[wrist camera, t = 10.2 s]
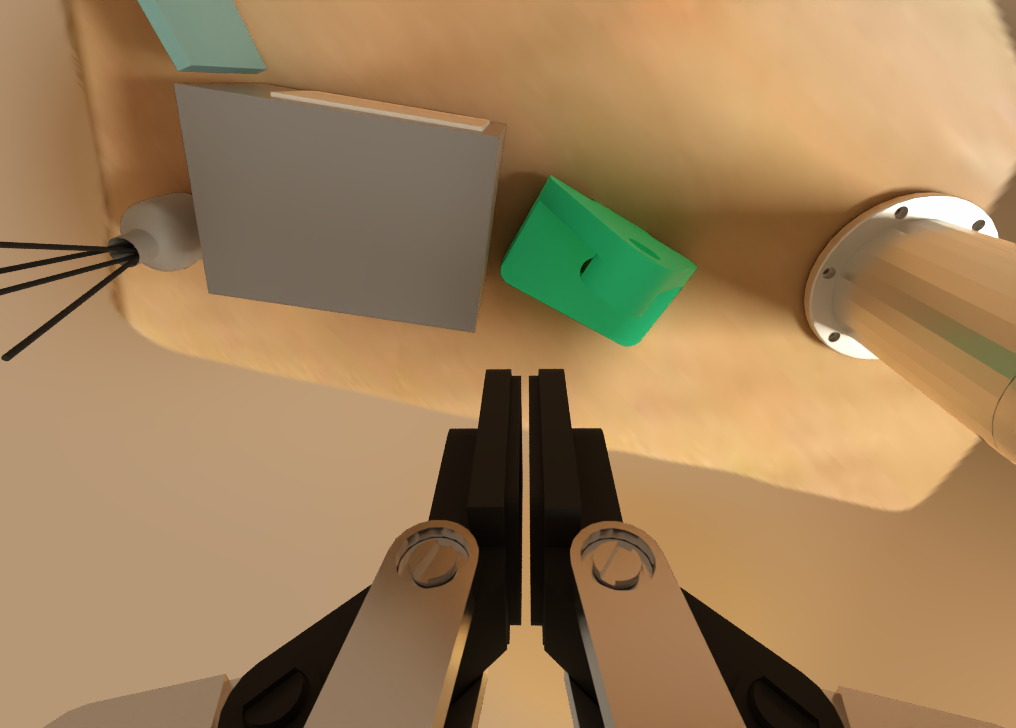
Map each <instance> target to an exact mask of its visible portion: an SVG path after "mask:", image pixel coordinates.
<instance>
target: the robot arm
mask: <svg viewBox="0 0 1016 728" xmlns="http://www.w3.org/2000/svg"><path fill="white" fill-rule="evenodd" d="M804 307H805V315H806V318H807V321H808V323H809V326H810V328H811V329H812V331H813V332H814V333H815V335H816V336H817V337H818V338H819V339H820V340H821V341H822V342H823V343H824V344H825V345H827V346H828V347H830V348H831V349H833V350H834V351H836V352H837V353H840V354H843V355H845V356H848V357H851V358H858V359H864V360H869V359H880V360H881V361H883V362H884V363H885V364H886V365H888V366H889V367H890V368H891V369H893V370H894V371H895V372H897V373H898V374H899V375H900V376H902V377H903V378H904V379H906V380H907V381H908V382H909V383H911V384H912V385H913V386H915V387H916V388H917V389H918V390H920V391H921V392H922V393H923V394H925V395H926V396H927V397H929V398H930V399H931V400H932V401H934V402H935V403H936V404H938V405H939V406H940V407H941V408H943V409H944V410H945V411H947V412H948V413H949V414H950V415H952V416H953V417H954V418H955V419H957V420H958V421H959V422H961V423H962V424H963V425H964V426H966V427H967V428H968V429H970V430H971V431H972V432H973V433H975V434H976V435H977V436H979V437H980V438H981V439H982V440H984V441H985V442H986V443H988V444H989V445H990V446H991V447H993V448H994V449H995V450H997V451H998V452H999V453H1000V454H1002V455H1003V456H1004V457H1006V458H1007V459H1009V460H1010V461H1011V462H1012V463H1014V464H1015V465H1016V244H1015V243H1011V242H1009V241H1006V240H1003V239H999V238H998V232H997V230H996V228H995V226H994V223H993V221H992V219H991V218H990V217H989V216H988V214H987V213H986V212H985V211H984V210H983V209H982V208H981V207H979V206H977V205H976V204H974V203H972V202H971V201H969V200H966V199H963V198H960V197H957V196H953V195H949V194H943V193H937V192H927V193H914V194H909V195H905V196H900V197H896V198H894V199H891V200H888V201H886V202H883V203H881V204H878V205H876V206H875V207H873V208H871V209H869V210H867V211H866V212H864V213H862V214H860V215H859V216H858V217H856V218H855V219H854V220H852V221H851V222H850V223H848V224H847V225H846V226H844V227H843V228H842V229H841V230H840V231H839V232H838V233H837V234H836V235H835V236H834V237H833V238H832V239H831V240H830V242H829V243H828V244H827V246H826V247H825V248H824V250H823V251H822V252H821V254H820V255H819V256H818V258H817V260H816V262H815V264H814V266H813V268H812V270H811V272H810V275H809V278H808V281H807V284H806V287H805V296H804ZM529 451H530V452H529V462H530V574H531V575H530V585H531V625H537V626H538V625H540V626H542V628H543V629H542V630H543V631H542V632H543V645H544V650H545V651H546V652H547V653H548V654H549V655H550V656H551V657H552V658H553V659H554V660H555V661H556V662H557V663H558V664H559V665H560V666H561V667H562V668H563V669H564V681H565V685H566V690H567V695H568V700H569V705H570V710H571V714H572V719H573V724H574V728H1003V727H1001V726H998V725H995V724H992V723H988V722H984V721H980V720H976V719H972V718H968V717H963V716H959V715H955V714H951V713H947V712H943V711H939V710H935V709H930V708H926V707H923V706H918V705H915V704H911V703H906V702H902V701H898V700H894V699H890V698H886V697H882V696H878V695H873V694H870V693H865V692H861V691H857V690H853V689H849V688H845V687H841V686H839V687H838V689H837V690H836V692H831V691H826V690H823V689H820V688H819V687H818V686H817V685H816V684H815V683H814V682H813V681H811V680H810V679H809V678H808V677H806V676H805V675H804V674H803V673H802V672H800V671H799V670H798V669H796V668H795V667H793V666H792V665H791V664H789V663H788V662H786V661H785V660H783V659H782V658H781V657H779V656H778V655H776V654H775V653H773V652H772V651H771V650H769V649H768V648H766V647H765V646H764V645H762V644H761V643H759V642H758V641H756V640H755V639H753V638H752V637H751V636H749V635H748V634H746V633H745V632H744V631H742V630H741V629H739V628H738V627H736V626H735V625H734V624H732V623H731V622H729V621H728V620H726V619H725V618H723V617H722V616H721V615H719V614H718V613H717V612H715V611H714V610H712V609H711V608H709V607H708V606H707V605H705V604H704V603H702V602H701V601H699V600H698V599H696V598H695V597H694V596H692V595H691V594H689V593H688V592H687V591H685V590H684V589H682V588H681V587H679V585H678V582H677V580H676V578H675V576H674V574H673V572H672V570H671V568H670V566H669V563H668V561H667V559H666V557H665V555H664V553H663V551H662V550H661V548H660V547H659V545H658V544H657V542H656V541H655V540H654V539H653V538H652V537H651V536H649V535H648V534H647V533H646V532H645V531H643V530H641V529H639V528H637V527H635V526H633V525H631V524H627V523H623V521H622V516H621V512H620V507H619V503H618V498H617V493H616V489H615V484H614V480H613V475H612V471H611V466H610V462H609V458H608V452H607V448H606V443H605V439H604V434H603V431H602V429H601V428H571V420H570V412H569V405H568V397H567V390H566V382H565V374H564V369H539V374H538V376H529ZM522 471H523V470H522V406H521V376H512V374H511V369H489V370H486V374H485V381H484V388H483V395H482V403H481V410H480V417H479V424H478V429H450V430H449V432H448V436H447V440H446V444H445V449H444V453H443V458H442V462H441V467H440V471H439V476H438V480H437V485H436V489H435V494H434V498H433V502H432V507H431V512H430V516H429V520H428V521H427V522H423V523H419V524H417V525H415V526H413V527H411V528H409V529H407V530H406V531H404V532H403V533H402V534H401V535H400V536H398V537H397V538H396V539H395V541H394V542H393V544H392V545H391V547H390V548H389V550H388V552H387V554H386V556H385V558H384V560H383V562H382V564H381V566H380V569H379V571H378V573H377V575H376V577H375V579H374V581H373V583H372V585H370V586H369V587H367V588H366V589H364V590H363V591H361V592H360V593H358V594H357V595H356V596H354V597H353V598H351V599H350V600H349V601H347V602H345V603H344V604H343V605H341V606H340V607H338V608H337V609H336V610H334V611H332V612H331V613H330V614H328V615H327V616H325V617H324V618H322V619H321V620H320V621H318V622H317V623H315V624H314V625H312V626H311V627H309V628H308V629H307V630H305V631H304V632H302V633H301V634H299V635H298V636H296V638H294V639H292V640H291V641H289V642H288V643H286V644H285V645H283V646H282V647H281V648H279V649H278V650H276V651H275V652H273V653H272V654H271V655H269V656H268V657H266V658H265V659H263V660H262V661H260V662H259V663H258V664H257V665H255V667H253V668H252V669H251V670H250V671H248V672H247V673H246V674H245V675H244V676H243V677H242V678H239V679H234V680H229V679H228V677H227V675H226V674H224V675H219V676H214V677H210V678H205V679H201V680H196V681H191V682H187V683H182V684H178V685H173V686H168V687H164V688H159V689H155V690H150V691H146V692H141V693H136V694H131V695H127V696H122V697H118V698H113V699H109V700H104V701H99V702H95V703H90V704H87V705H84V706H81V707H79V708H76V709H73V710H71V711H68V712H67V713H65V714H63V715H62V716H60V717H59V718H57V719H56V720H54V721H53V722H51V723H49V724H48V725H46V726H45V727H44V728H478V723H479V718H480V713H481V709H482V704H483V699H484V694H485V690H486V685H487V680H488V667H489V666H490V665H491V664H492V663H493V662H494V661H495V660H496V659H497V658H498V657H500V656H501V655H502V654H503V653H504V652H505V651H506V650H507V644H509V640H510V625H521V599H522V593H521V592H522V492H523V490H522V489H523V482H522V481H523V479H522V478H523V476H522V475H523V472H522Z"/></svg>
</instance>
